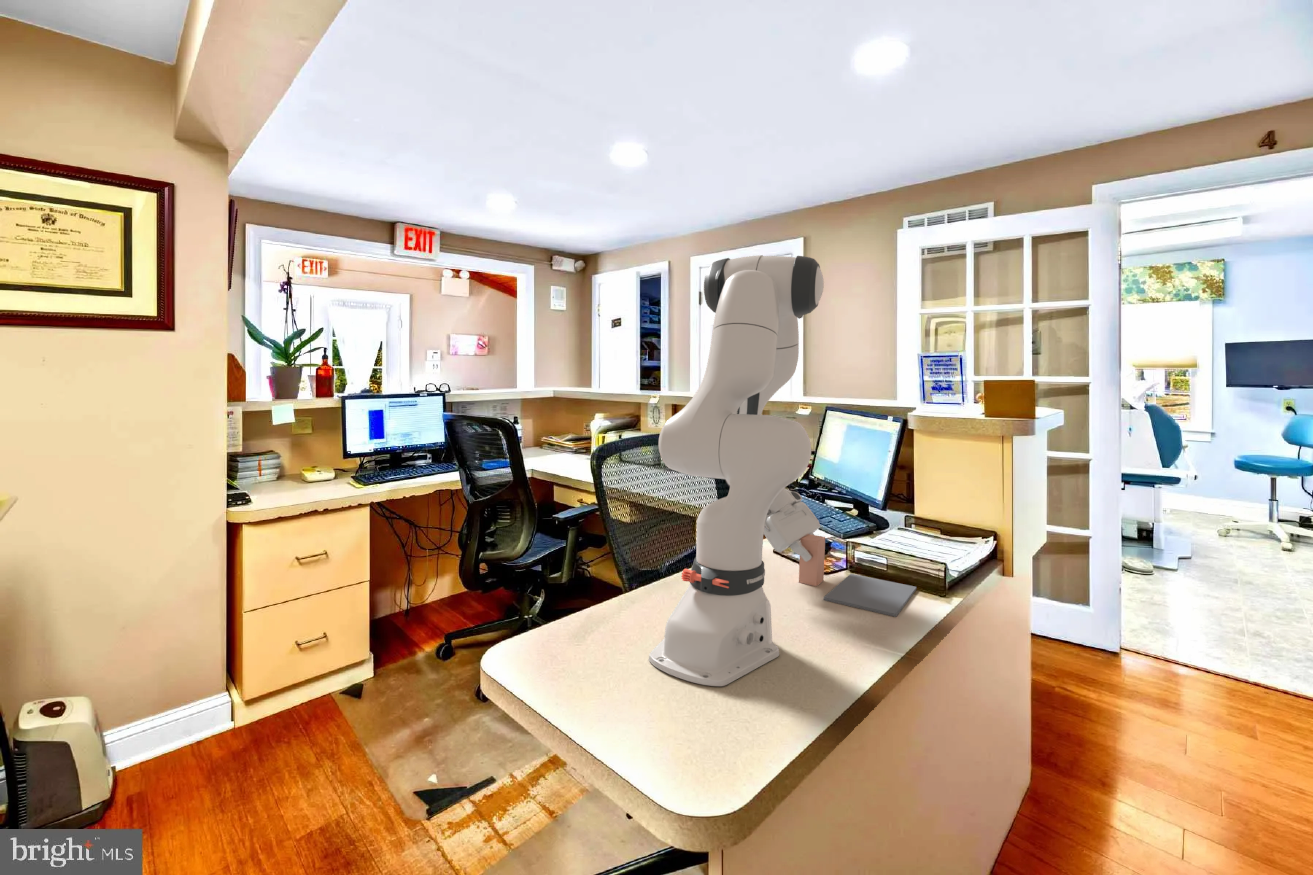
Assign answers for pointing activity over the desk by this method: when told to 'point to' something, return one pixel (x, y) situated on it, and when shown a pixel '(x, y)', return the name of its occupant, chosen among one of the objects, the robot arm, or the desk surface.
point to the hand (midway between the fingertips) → (814, 556)
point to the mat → (871, 594)
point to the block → (812, 560)
